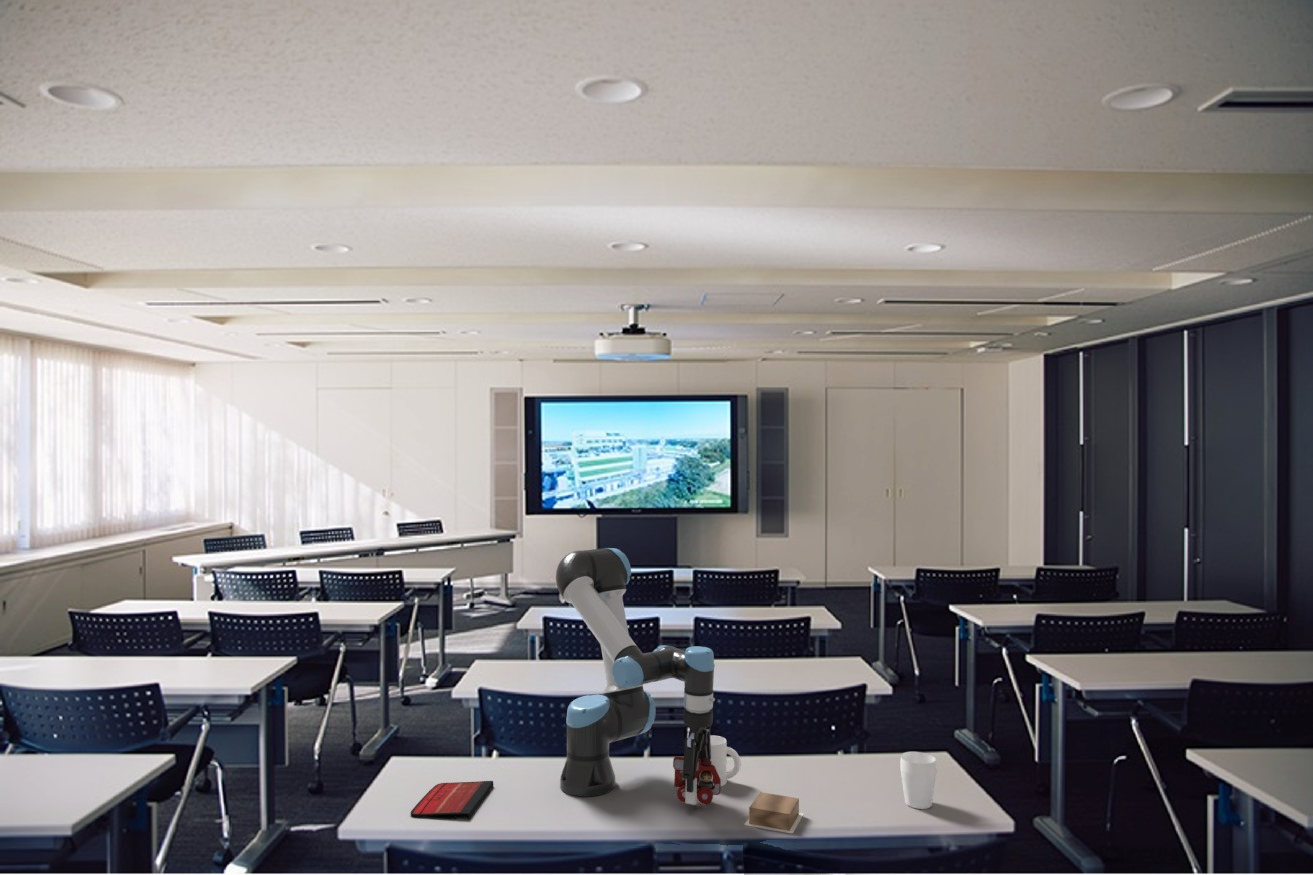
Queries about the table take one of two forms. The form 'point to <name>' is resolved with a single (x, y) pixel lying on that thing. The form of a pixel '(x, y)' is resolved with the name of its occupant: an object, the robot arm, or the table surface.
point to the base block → (774, 811)
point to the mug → (723, 758)
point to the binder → (452, 800)
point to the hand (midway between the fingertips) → (696, 796)
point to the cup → (918, 778)
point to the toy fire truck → (705, 785)
